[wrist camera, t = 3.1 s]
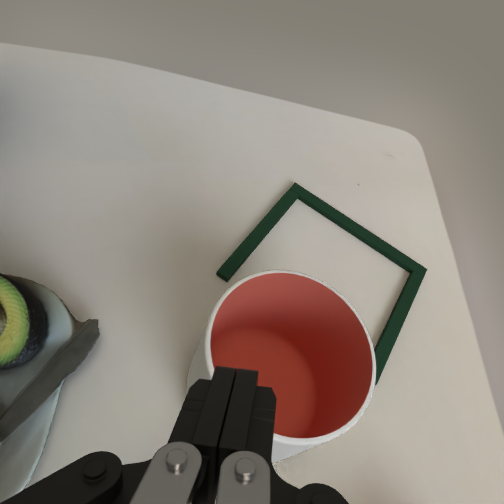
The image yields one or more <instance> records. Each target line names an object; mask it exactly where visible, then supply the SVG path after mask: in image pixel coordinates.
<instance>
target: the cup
mask: <svg viewBox="0 0 504 504" xmlns="http://www.w3.org/2000/svg"><path fill="white" fill-rule="evenodd" d="M216 366H224V367H232V368H237V370H238V368H241V369H249V370H257V371H258V385H257V386H264V387H272V389H273V392H274V394H275V396H276V398H277V401H276V412H275V424H274V435H273V446H272V463H275V462H278V461H281V460H283V459H286V458H288V457H291V456H293V455H296V454H298V453H301V452H303V451H306V450H308V449H310V448H313V447H315V446H318V445H320V444H323V443H325V442H328V441H330V440H332V439H335V438H337V437H338V436H340V435H342V434H343V433H345V432H346V431H348V430H349V429H350V428H351V427H352V426H353V425H355V424H356V422H357V421H358V420H359V419H360V418H361V416H362V415H363V413H364V412H365V410H366V409H367V406H368V404H369V402H370V400H371V397H372V394H373V391H374V386H375V381H376V359H375V352H374V348H373V344H372V340H371V338H370V335H369V332H368V330H367V328H366V326H365V324H364V322H363V321H362V319H361V317H360V316H359V314H358V313H357V311H356V310H355V309H354V308H353V306H352V305H351V304H350V303H349V302H348V301H347V300H346V299H345V298H344V297H343V296H342V295H341V294H340V293H339V292H337V291H336V290H335V289H334V288H332V287H331V286H329V285H328V284H326V283H324V282H323V281H321V280H319V279H317V278H314V277H312V276H310V275H307V274H304V273H300V272H296V271H290V270H268V271H263V272H259V273H255V274H252V275H249V276H247V277H245V278H243V279H241V280H239V281H238V282H236V283H235V284H233V285H232V286H231V287H230V288H229V289H227V290H226V291H225V292H224V293H223V295H222V296H221V297H220V298H219V300H218V301H217V303H216V304H215V306H214V308H213V310H212V312H211V314H210V316H209V319H208V321H207V324H206V327H205V329H204V332H203V334H202V337H201V340H200V342H199V345H198V347H197V350H196V353H195V355H194V358H193V360H192V363H191V366H190V369H189V373H188V378H187V393H188V390H189V388H190V387H191V386H192V385H193V384H194V383H195V382H196V381H197V380H198V379H199V378H200V379H208V380H211V379H212V376H213V373H214V370H215V367H216Z"/></svg>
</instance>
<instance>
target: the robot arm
mask: <svg viewBox="0 0 504 504" xmlns="http://www.w3.org/2000/svg"><path fill="white" fill-rule="evenodd" d="M257 385H258V371H257V370H249V369H241V368H238V370H237V368H232V367H224V366H216V367H215V370H214V373H213V376H212V379H211V380H208V379H200V378H199V379H198V380H197V381H196V382H195V383H194V384H193V385H192V386H191V387H190V388H189V390H188V393H187V395H186V398H185V401H184V403H183V406H182V409H181V411H180V413H179V416H178V418H177V421H176V423H175V426H174V428H173V431H172V433H171V436H170V438H169V441H168V443H167V444H166V445H164V446H163V447H161V448H160V449H159V450H158V451H157V452H156V453H155V455H154V456H153V458H152V459H150V460H147V461H144V462H140V463H133V464H126V465H122V463H121V460H120V459H119V458H118V457H117V456H116V455H115V454H113V453H110V452H105V451H100V452H94V453H90V454H88V455H86V456H84V457H82V458H80V459H78V460H76V461H75V462H73V463H71V464H69V465H67V466H66V467H64V468H62V469H60V470H58V471H57V472H55V473H53V474H51V475H49V476H48V477H46V478H44V479H42V480H40V481H39V482H37V483H35V484H33V485H32V486H30V487H28V488H26V489H24V490H23V491H21V492H19V493H17V494H15V495H14V496H12V497H10V498H8V499H6V500H5V501H3V502H1V503H0V504H215V500H216V504H349V503H348V502H347V501H346V500H345V499H344V497H343V496H342V495H341V494H340V493H339V492H338V491H336V490H335V489H334V488H332V487H330V486H327V485H325V484H319V483H312V484H308V485H306V486H304V487H302V488H301V489H298V488H296V487H294V486H292V485H290V484H288V483H286V482H285V481H284V480H282V479H281V478H280V477H279V476H278V475H277V473H276V472H275V470H274V468H273V466H272V446H273V435H274V424H275V412H276V401H277V398H276V396H275V394H274V392H273V389H272V387H264V386H257ZM216 496H217V498H216Z"/></svg>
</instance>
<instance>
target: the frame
mask: <svg viewBox="0 0 504 504" xmlns="http://www.w3.org/2000/svg"><path fill="white" fill-rule="evenodd" d="M297 198H298V199H299V200H301V201H302V202H304V203H305V204H307V205H308V206H310V207H311V208H313V209H314V210H316V211H317V212H319V213H320V214H322V215H323V216H325V217H326V218H328V219H329V220H331V221H332V222H334V223H336V224H337V225H339V226H340V227H342V228H343V229H345V230H346V231H348V232H349V233H351V234H352V235H354V236H355V237H357V238H358V239H360V240H361V241H363V242H364V243H366V244H367V245H369V246H370V247H372V248H373V249H375V250H376V251H378V252H379V253H381V254H382V255H384V256H385V257H387V258H388V259H390V260H391V261H393V262H394V263H396V264H397V265H399V266H400V267H402V268H403V269H405V270H406V271H408V272H410V275H409V277H408V279H407V281H406V283H405V286H404V288H403V290H402V292H401V294H400V296H399V298H398V300H397V303H396V305H395V307H394V309H393V311H392V313H391V315H390V317H389V320H388V322H387V324H386V326H385V328H384V330H383V332H382V334H381V337H380V339H379V341H378V343H377V345H376V347H375V349H374V352H375V359H376V381H375V385H376V384H377V382H378V380H379V378H380V376H381V373H382V371H383V369H384V366H385V364H386V362H387V360H388V357H389V355H390V353H391V350H392V348H393V346H394V344H395V341H396V339H397V337H398V335H399V332H400V330H401V328H402V325H403V323H404V321H405V319H406V316H407V314H408V312H409V310H410V307H411V305H412V303H413V300H414V298H415V296H416V294H417V291H418V289H419V287H420V284H421V282H422V280H423V277H424V276H425V273H426V271H427V269H426V268H424V267H423V266H421V265H420V264H418V263H417V262H415V261H414V260H412V259H411V258H409V257H408V256H406V255H405V254H403V253H402V252H400V251H399V250H397V249H396V248H394V247H392V246H391V245H389V244H388V243H386V242H385V241H383V240H382V239H380V238H379V237H377V236H376V235H374V234H373V233H371V232H370V231H368V230H367V229H365V228H364V227H362V226H361V225H359V224H357V223H356V222H354V221H353V220H351V219H350V218H348V217H347V216H345V215H344V214H342V213H341V212H339V211H338V210H336V209H335V208H333V207H332V206H330V205H329V204H327V203H325V202H324V201H322V200H321V199H319V198H318V197H316V196H315V195H313V194H312V193H310V192H309V191H307V190H306V189H304V188H303V187H301V186H300V185H298V184H297V183H294V184H293V185H292V186H291V188H290V189H289V190H288V191H287V192H286V193H285V194H284V196H283V197H282V198H281V199H280V200H279V201H278V202H277V204H276V205H275V206H274V207H273V208H272V209H271V210H270V212H269V213H268V214H267V215H266V216H265V217H264V218H263V220H262V221H261V222H260V223H259V224H258V225H257V226H256V228H255V229H254V230H253V231H252V232H251V233H250V234H249V236H248V237H247V238H246V239H245V240H244V241H243V242H242V244H241V245H240V246H239V247H238V248H237V249H236V250H235V251H234V253H233V254H232V255H231V256H230V257H229V258H228V259H227V261H226V262H225V263H224V264H223V265H222V266H221V267H220V269H219V270H218V271H217V275H218V276H219V277H221V278H222V279H223V280H225V281H226V282H228V281H229V279H230V278H231V277H232V276H233V275H234V273H235V272H236V271H237V270H238V269H239V267H240V266H241V265H242V264H243V263H244V261H245V260H246V259H247V258H248V257H249V255H250V254H251V253H252V252H253V251H254V249H255V248H256V247H257V246H258V245H259V243H260V242H261V241H262V240H263V239H264V238H265V236H266V235H267V234H268V233H269V232H270V230H271V229H272V228H273V227H274V226H275V224H276V223H277V222H278V221H279V220H280V218H281V217H282V216H283V215H284V214H285V212H286V211H287V210H288V209H289V208H290V206H291V205H292V204H293V203H294V202H295V200H296V199H297Z"/></svg>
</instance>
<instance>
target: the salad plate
mask: <svg viewBox="0 0 504 504" xmlns="http://www.w3.org/2000/svg"><path fill="white" fill-rule="evenodd" d="M99 335H100V333H99V328H98V320H97V319H93V320H91V319H89V320H87V321H86V322H83V323H82V322H78V321H77V320H76V319H75V318H74V317H73V316H72V314H71V313H70V311H69V310H68V308H67V307H66V306H65V304H64V303H63V301H62V300H61V299H60V298H59V297H58V296H57V295H56V294H55V293H54V292H52V291H51V290H49V289H48V288H46V287H45V286H43V285H41V284H38V283H36V282H34V281H31V280H28V279H24V278H21V277H16V276H11V275H5V274H1V273H0V503H1V502H3V501H5V500H6V499H8V498H10V497H12V496H14V495H15V494H17V493H19V492H21V491H22V490H23V489H24V488H25V486H26V485H27V483H28V482H29V480H30V478H31V477H32V475H33V472H34V470H35V468H36V466H37V464H38V462H39V459H40V457H41V454H42V452H43V449H44V447H45V444H46V441H47V438H48V435H49V431H50V426H51V421H52V418H53V415H54V412H55V409H56V405H57V401H58V397H59V394H60V390H61V387H62V385H63V382H64V380H65V378H66V377H67V376H68V375H69V374H70V373H71V372H73V371H75V370H76V368H77V367H78V366H79V365H80V363H81V362H82V361H83V360H84V358H85V357H86V356H87V355H88V353H89V351H90V350H91V349H92V347H93V345H94V344H95V342H96V340H97V339H98V337H99Z"/></svg>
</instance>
